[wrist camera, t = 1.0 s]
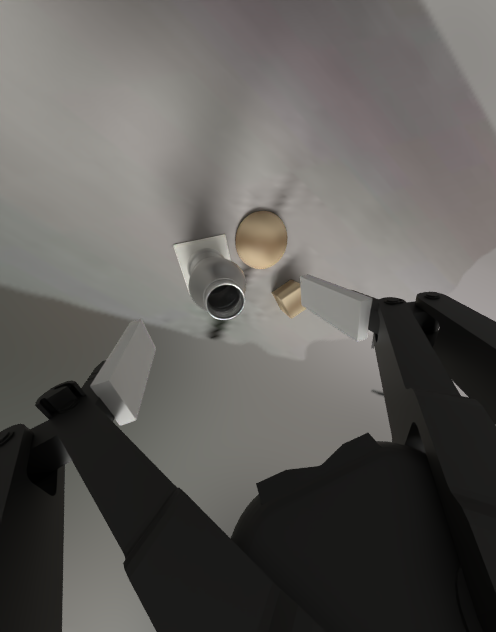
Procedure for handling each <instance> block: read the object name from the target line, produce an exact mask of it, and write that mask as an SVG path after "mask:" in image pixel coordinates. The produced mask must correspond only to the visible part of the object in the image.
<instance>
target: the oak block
mask: <svg viewBox="0 0 496 632" xmlns="http://www.w3.org/2000/svg"><path fill="white" fill-rule="evenodd" d="M272 294H273V296H274V298H275V299H276V301H277V303H278V305H279V307H280V309H281V310H282V311H283V312H284V313H285V314H286V315H288V316H289V317H290V318H291V319H292V318H293V317H295V316H296V315H298V314H299V313H301V312H302V311H304V310H305V309H306V308H305V307H303V306H302V305H301V287H300V284H299V283H297V282H295V281H293V280H290V281H288V282H287V283H285V284H284V285H282V286H281V287H279V288H278V289H276V290H275V291H273V292H272Z"/></svg>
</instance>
